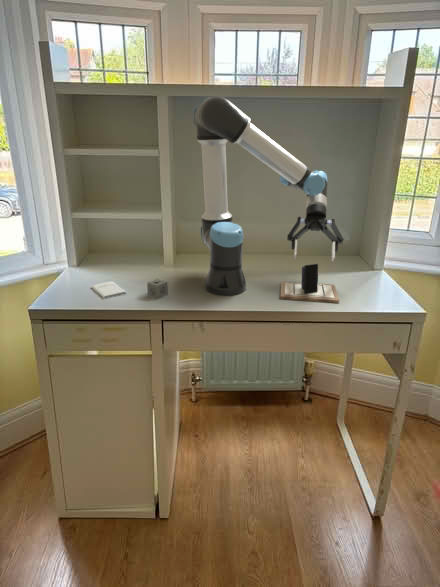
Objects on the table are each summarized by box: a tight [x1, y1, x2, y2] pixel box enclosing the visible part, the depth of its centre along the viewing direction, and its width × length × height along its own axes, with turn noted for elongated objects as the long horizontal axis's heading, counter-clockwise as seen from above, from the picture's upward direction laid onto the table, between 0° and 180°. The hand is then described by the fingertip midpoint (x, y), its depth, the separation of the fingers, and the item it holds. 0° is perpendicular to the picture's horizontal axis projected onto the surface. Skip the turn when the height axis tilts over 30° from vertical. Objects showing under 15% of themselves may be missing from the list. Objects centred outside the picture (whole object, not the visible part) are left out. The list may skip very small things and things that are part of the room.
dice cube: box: [146, 278, 169, 300], centre depth 147 cm, size 5×5×5 cm
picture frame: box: [279, 280, 340, 304], centre depth 152 cm, size 20×15×1 cm
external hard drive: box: [91, 280, 127, 299], centre depth 151 cm, size 2×8×12 cm
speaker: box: [301, 263, 319, 294], centre depth 150 cm, size 8×6×10 cm
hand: (314, 258), depth 152 cm, fingers open, 13 cm apart
